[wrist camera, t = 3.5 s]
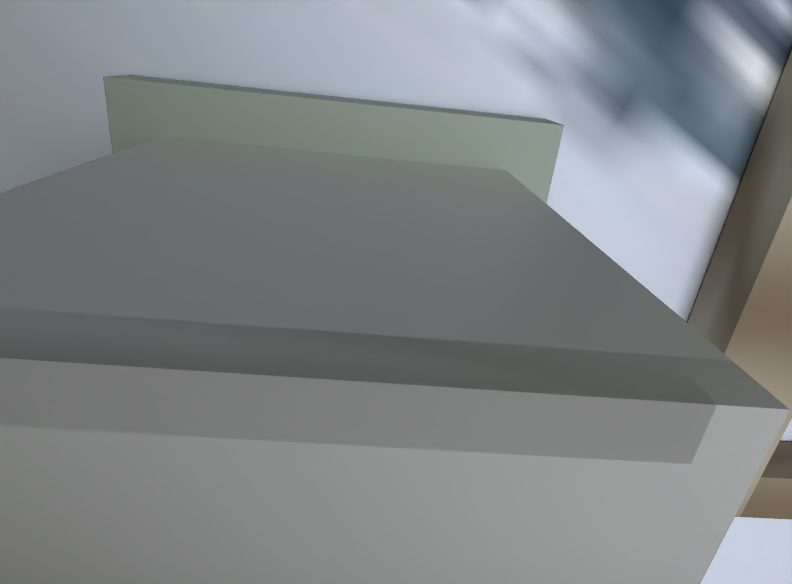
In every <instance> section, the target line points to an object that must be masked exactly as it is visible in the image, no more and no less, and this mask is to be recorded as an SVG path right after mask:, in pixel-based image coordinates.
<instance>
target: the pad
mask: <svg viewBox="0 0 792 584" xmlns="http://www.w3.org/2000/svg"><path fill="white" fill-rule="evenodd" d="M103 79H104V87H105V95H106V103H107V111H108V119H109V127H110V135H111V143H112V151H113V154H114V153H117V152H119V151H122V150H125V149H128V148H131V147H134V146H137V145H140V144H142V143H145V142H148V141H151V140H154V139H157V138H160V137H171V138H181V139H191V140H202V141H212V142H222V143H232V144H243V145H253V146H263V147H273V148H284V149H294V150H304V151H314V152H325V153H335V154H345V155H356V156H366V157H376V158H386V159H397V160H407V161H417V162H427V163H438V164H448V165H458V166H468V167H479V168H489V169H499V170H507V171H508V172H509V173H510V174H511V175H513V176H514V177H515V178H516V179H517V180H518V181H520V182H521V183H522V184H523V185H524V186H526V187H527V188H528V189H529V190H530V191H531V192H533V193H534V194H535V195H536V196H537V197H539V198H540V199H541V200H542V201H543V202H545V203H546V202H547V198H548V193H549V189H550V184H551V180H552V176H553V171H554V167H555V162H556V158H557V154H558V149H559V145H560V140H561V136H562V132H563V127H564V125H562V124H559V123H556V122H553V121H550V120H547V119H541V118H531V117H522V116H512V115H503V114H493V113H484V112H474V111H465V110H455V109H446V108H436V107H427V106H417V105H408V104H398V103H389V102H379V101H370V100H360V99H351V98H341V97H332V96H322V95H313V94H303V93H294V92H284V91H275V90H265V89H256V88H247V87H237V86H228V85H218V84H209V83H199V82H190V81H180V80H171V79H161V78H152V77H142V76H133V75H128V76H110V77H103Z"/></svg>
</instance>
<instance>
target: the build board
mask: <svg viewBox="0 0 792 584" xmlns="http://www.w3.org/2000/svg"><path fill="white" fill-rule="evenodd" d="M687 323H688V324H689V325H690V326H692V327H693V328H694V329H695V330H696V331H697V332H699V333H700V334H701V335H702V336H703V337H705V338H706V339H707V340H708V341H709V342H710V343H712V344H713V345H714V346H715V347H716V348H718V349H719V350H720V351H721V352H722V353H724V354H725V355H726V356H727V357H728V358H729V359H731V360H732V361H733V362H734V363H735V364H737V365H738V366H739V367H740V368H741V369H742V370H744V371H745V372H746V373H747V374H748V375H750V376H751V377H752V378H753V379H754V380H756V381H757V382H758V383H759V384H760V385H761V386H763V387H764V388H765V389H766V390H767V391H769V392H770V393H771V394H772V395H773V396H774V397H776V398H777V399H778V400H779V401H780V402H782V403H783V404H784V405H785V406H786V407H788V408H789V409H790V411H789V413H788V415H787V417H786V419H785V420H784V422H783V424H782V426H781V428H780V430H779V432H778V434H777V436H776V438H775V440H774V442H773V444H772V446H771V448H770V449H769V451H768V453H767V455H766V457H765V459H764V461H763V463H762V465H761V467H760V469H759V471H758V473H757V475H756V477H755V479H754V480H753V482H752V484H751V486H750V488H749V490H748V492H747V494H746V496H745V498H744V500H743V502H742V504H741V506H740V508H739V509H738V511H737V513H736V515H735V517H754V518H775V519H792V442H786V441H780V439H781V437H782V435H783V434H784V432H785V430H786V428H787V426H788V424H789V422H790V420H791V418H792V50H791V52H790V55H789V58H788V60H787V63H786V65H785V68H784V71H783V73H782V76H781V79H780V81H779V84H778V86H777V89H776V92H775V94H774V97H773V100H772V102H771V105H770V107H769V110H768V113H767V115H766V118H765V121H764V123H763V126H762V128H761V131H760V134H759V136H758V139H757V142H756V144H755V147H754V149H753V152H752V155H751V157H750V160H749V162H748V165H747V168H746V170H745V173H744V176H743V178H742V181H741V183H740V186H739V189H738V191H737V194H736V197H735V199H734V202H733V204H732V207H731V210H730V212H729V215H728V218H727V220H726V223H725V225H724V228H723V231H722V233H721V236H720V239H719V241H718V244H717V246H716V249H715V252H714V254H713V257H712V259H711V262H710V265H709V267H708V270H707V273H706V275H705V278H704V280H703V283H702V286H701V288H700V291H699V294H698V296H697V299H696V301H695V304H694V307H693V309H692V312H691V315H690V317H689V320H688V322H687Z"/></svg>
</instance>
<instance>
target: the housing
mask: <svg viewBox="0 0 792 584" xmlns="http://www.w3.org/2000/svg"><path fill="white" fill-rule="evenodd" d="M789 411H790V409H789V408H788V407H786V406H785V405H784V404H783V403H782V402H780V401H779V400H778V399H777V398H776V397H774V396H773V395H772V394H771V393H770V392H769V391H767V390H766V389H765V388H764V387H763V386H761V385H760V384H759V383H758V382H757V381H756V380H754V379H753V378H752V377H751V376H750V375H748V374H747V373H746V372H745V371H744V370H742V369H741V368H740V367H739V366H738V365H737V364H735V363H734V362H733V361H732V360H731V359H729V358H728V357H727V356H726V355H725V354H724V353H722V352H721V351H720V350H719V349H718V348H716V347H715V346H714V345H713V344H712V343H710V342H709V341H708V340H707V339H706V338H705V337H703V336H702V335H701V334H700V333H699V332H697V331H696V330H695V329H694V328H693V327H692V326H690V325H689V324H688V323H687V322H686V321H684V320H683V319H682V318H681V317H680V316H678V315H677V314H676V313H675V312H674V311H673V310H671V309H670V308H669V307H668V306H667V305H665V304H664V303H663V302H662V301H661V300H660V299H658V298H657V297H656V296H655V295H654V294H652V293H651V292H650V291H649V290H648V289H646V288H645V287H644V286H643V285H642V284H641V283H639V282H638V281H637V280H636V279H635V278H633V277H632V276H631V275H630V274H629V273H627V272H626V271H625V270H624V269H623V268H622V267H620V266H619V265H618V264H617V263H616V262H614V261H613V260H612V259H611V258H610V257H609V256H607V255H606V254H605V253H604V252H603V251H601V250H600V249H599V248H598V247H597V246H595V245H594V244H593V243H592V242H591V241H590V240H588V239H587V238H586V237H585V236H584V235H582V234H581V233H580V232H579V231H578V230H577V229H575V228H574V227H573V226H572V225H571V224H569V223H568V222H567V221H566V220H565V219H563V218H562V217H561V216H560V215H559V214H558V213H556V212H555V211H554V210H553V209H552V208H550V207H549V206H548V205H547V204H546V203H545V202H543V201H542V200H541V199H540V198H539V197H537V196H536V195H535V194H534V193H533V192H531V191H530V190H529V189H528V188H527V187H526V186H524V185H523V184H522V183H521V182H520V181H518V180H517V179H516V178H515V177H514V176H513V175H511V174H510V173H509V172H508V171H507V170H499V169H489V168H479V167H468V166H458V165H448V164H438V163H427V162H417V161H407V160H397V159H386V158H376V157H366V156H356V155H345V154H335V153H325V152H314V151H304V150H294V149H284V148H273V147H263V146H253V145H243V144H232V143H222V142H212V141H202V140H191V139H181V138H171V137H160V138H157V139H154V140H151V141H148V142H145V143H142V144H140V145H137V146H134V147H131V148H128V149H125V150H122V151H119V152H117V153H114V154H111V155H108V156H105V157H102V158H99V159H96V160H94V161H91V162H88V163H85V164H82V165H79V166H76V167H73V168H71V169H68V170H65V171H62V172H59V173H56V174H53V175H50V176H48V177H45V178H42V179H39V180H36V181H33V182H30V183H28V184H25V185H22V186H19V187H16V188H13V189H10V190H7V191H5V192H2V193H0V584H700V583H701V581H702V579H703V577H704V575H705V573H706V571H707V569H708V567H709V566H710V564H711V562H712V560H713V558H714V556H715V554H716V552H717V550H718V548H719V546H720V544H721V542H722V540H723V538H724V537H725V535H726V533H727V531H728V529H729V527H730V525H731V523H732V521H733V519H734V517H735V515H736V513H737V511H738V509H739V508H740V506H741V504H742V502H743V500H744V498H745V496H746V494H747V492H748V490H749V488H750V486H751V484H752V482H753V480H754V479H755V477H756V475H757V473H758V471H759V469H760V467H761V465H762V463H763V461H764V459H765V457H766V455H767V453H768V451H769V449H770V448H771V446H772V444H773V442H774V440H775V438H776V436H777V434H778V432H779V430H780V428H781V426H782V424H783V422H784V420H785V419H786V417H787V415H788V413H789Z"/></svg>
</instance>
